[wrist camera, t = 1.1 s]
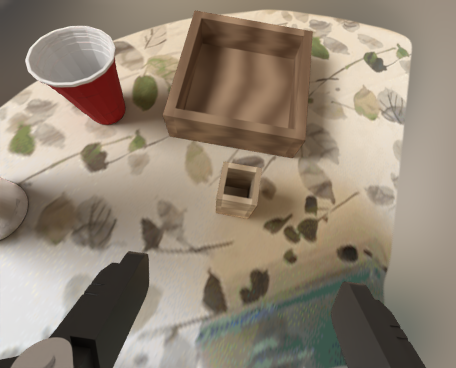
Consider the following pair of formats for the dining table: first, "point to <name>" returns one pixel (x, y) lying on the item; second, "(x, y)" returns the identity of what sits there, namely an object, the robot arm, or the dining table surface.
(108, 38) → the plastic cup
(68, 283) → the dining table surface
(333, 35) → the dining table surface
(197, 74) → the crate
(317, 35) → the dining table surface
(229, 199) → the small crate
